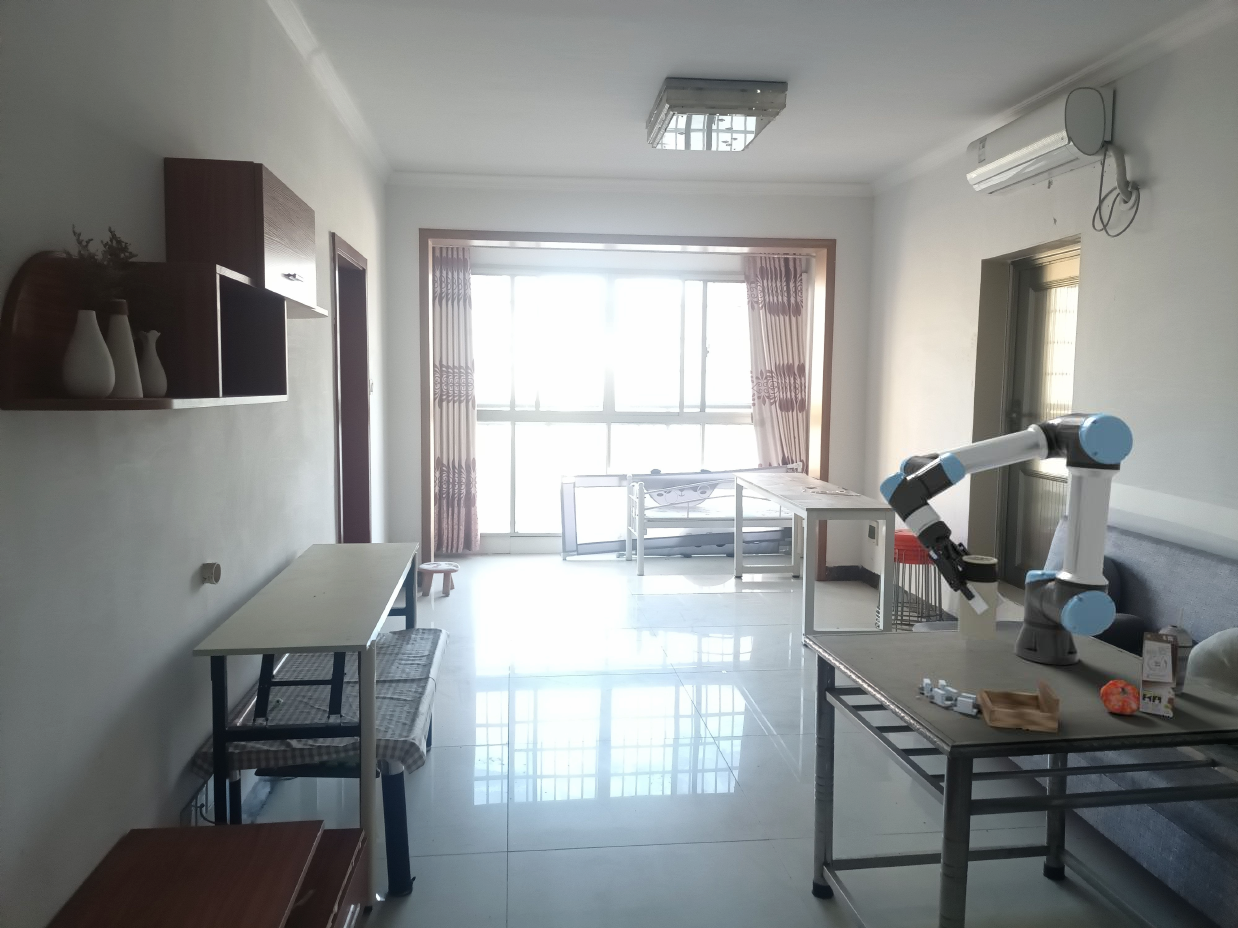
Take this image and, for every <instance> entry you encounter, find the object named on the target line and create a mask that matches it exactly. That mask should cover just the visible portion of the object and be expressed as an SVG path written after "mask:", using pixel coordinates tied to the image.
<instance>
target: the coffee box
mask: <svg viewBox="0 0 1238 928" xmlns="http://www.w3.org/2000/svg"><path fill="white" fill-rule="evenodd" d="M1178 647H1179V643H1178V640H1177V636H1176V635H1169V634H1161V633H1159V632H1151V631H1144V632H1143V643H1142V653H1141V654H1142V655H1141V656H1142V657H1141V671H1140V672H1141V673H1140V686H1139V687H1140V689H1139V694H1140V697H1139V712H1143V713H1150V714H1155V715H1160V716H1163V715H1164V716H1165V717H1168V716H1169V718H1172V717H1173V716H1174V707H1175V697H1176V694H1175V686H1176V672H1177V659H1178Z"/></svg>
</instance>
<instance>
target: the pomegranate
mask: <svg viewBox="0 0 1238 928" xmlns="http://www.w3.org/2000/svg"><path fill="white" fill-rule="evenodd" d="M1100 689H1101V690H1100V699H1101V700H1102V702H1103V703H1102V704H1103V706H1104V708H1105V709H1107V711H1109V712H1111V713H1113V714H1117V715H1126V716H1130V715H1133V714H1135V713H1136V712H1137V711H1138V709H1140V691H1139V689H1137V687H1136V686H1134V685H1131V684H1129V683H1128V682H1126V681H1125V680H1122V679H1113V680H1110V681H1109V682H1107V683H1106V685H1103V686H1102V687H1101V688H1100Z"/></svg>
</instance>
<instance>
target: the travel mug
mask: <svg viewBox="0 0 1238 928" xmlns="http://www.w3.org/2000/svg"><path fill="white" fill-rule="evenodd" d="M962 559H963V561H964V566H963V568H962V569H961V568H960V571H961V573H962V575H963V577H964V579H965V581H966V583H967V584H969V583H970V584H971V586H972V587H973V588H974V589H975V591H976V592H977V593H978V594H979V596H980V597H981V598H982V599H983V601H984V602H985V603H986V604H987V606H988V607H989V608H987V609H986V610H985V611H983V612H982V613H981V614H979V615H978V613H977V612H976V611H975V609H974V608H973V607H972V606H971V604H970V603H969V602H968V601H967V599H966V598H965V597H964V596H963V594H962V593H961V592H960V591H959V595H958V614H957V615H958V616H957V619H958V620H957V633H958V634H959V635H960V636H963V638H966V639H967V638H968V639H972V640H982V641H984V640H992V639H993V638H995V637H996V625H997V609H998V608H997V591H998V586H999V573H998V571H997V569H996V565H997V563H998V559H997V558H994V557H991V556H984V555H972V556H964V557H962ZM967 584H966V585H967Z"/></svg>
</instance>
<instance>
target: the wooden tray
mask: <svg viewBox="0 0 1238 928" xmlns="http://www.w3.org/2000/svg"><path fill="white" fill-rule="evenodd" d="M976 704H980V711H981V714H982V715H983V717H984V719H985V721H986V723H987V725H988V727H996V728H1008V729H1016V728H1022V729H1021V730H1026V729H1029V730H1028V731H1038V732H1046V733H1047V732H1048V733H1056V734H1057V733H1058V730H1059V729H1058V728H1059V716H1060V715H1059V711H1060V698H1059V697H1058V695H1057V694H1056V693H1055V692H1054V691H1053V689H1051V687H1050V686H1049V684H1048V683H1047V682H1046V680H1044V678H1037V687H1036V693H1029V692H1019V691H1007V690H998V689H997V690H996V689H986V688H978V689H977V702H976Z"/></svg>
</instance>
